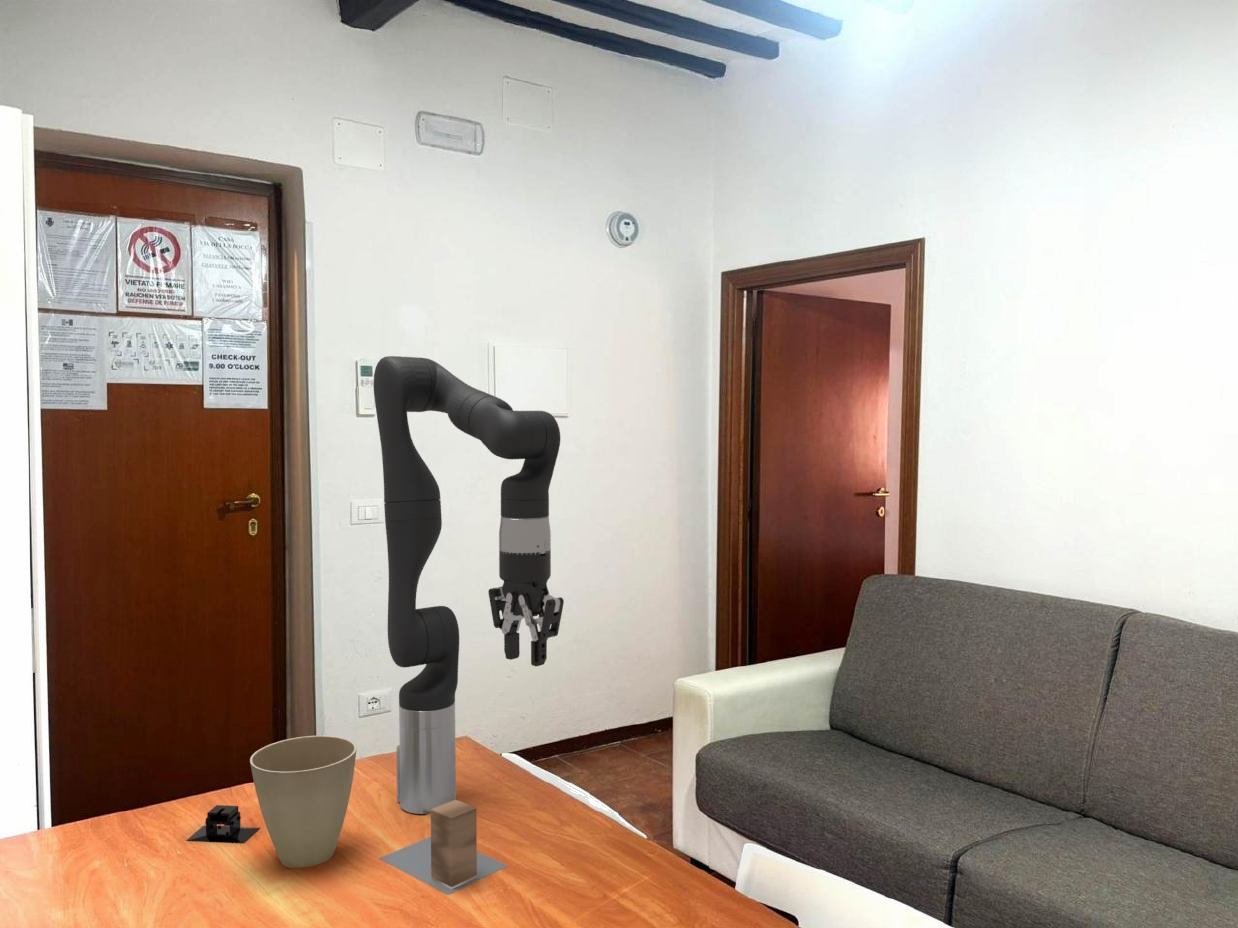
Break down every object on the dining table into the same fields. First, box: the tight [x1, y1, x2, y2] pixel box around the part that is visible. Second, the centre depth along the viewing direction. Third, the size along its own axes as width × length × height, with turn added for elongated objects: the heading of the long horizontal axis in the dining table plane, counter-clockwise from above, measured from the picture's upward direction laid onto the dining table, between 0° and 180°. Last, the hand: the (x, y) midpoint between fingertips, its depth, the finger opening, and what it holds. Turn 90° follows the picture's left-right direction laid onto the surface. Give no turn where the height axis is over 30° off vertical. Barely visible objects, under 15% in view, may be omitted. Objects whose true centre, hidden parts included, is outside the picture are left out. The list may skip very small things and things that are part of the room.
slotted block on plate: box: [185, 804, 262, 845], centre depth 149 cm, size 12×7×5 cm, turn 85°
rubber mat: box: [378, 836, 509, 896], centre depth 139 cm, size 16×11×1 cm
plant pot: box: [249, 735, 357, 869], centre depth 141 cm, size 15×15×16 cm
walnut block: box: [430, 799, 478, 889], centre depth 134 cm, size 4×4×10 cm
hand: (525, 661), depth 140 cm, fingers open, 5 cm apart
